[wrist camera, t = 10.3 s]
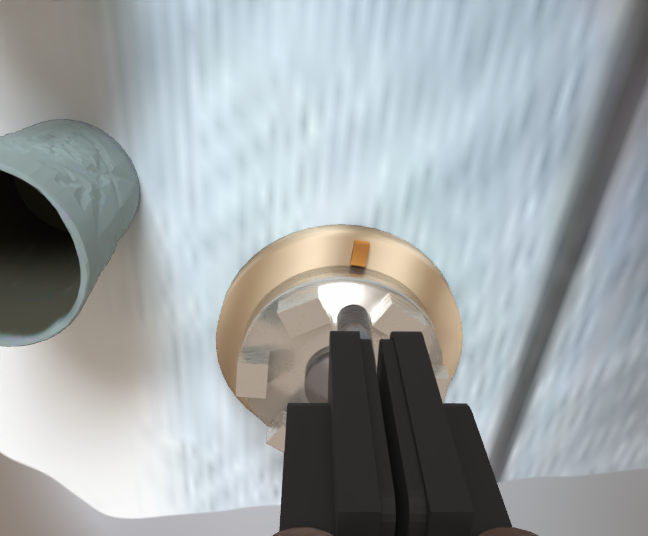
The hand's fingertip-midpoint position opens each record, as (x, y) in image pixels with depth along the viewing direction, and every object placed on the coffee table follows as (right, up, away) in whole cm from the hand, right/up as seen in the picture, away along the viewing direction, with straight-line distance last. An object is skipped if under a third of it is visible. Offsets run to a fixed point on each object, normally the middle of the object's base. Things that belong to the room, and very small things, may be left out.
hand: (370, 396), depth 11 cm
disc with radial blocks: (0, -4, +32) cm, 32 cm away
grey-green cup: (-18, +8, +28) cm, 34 cm away
